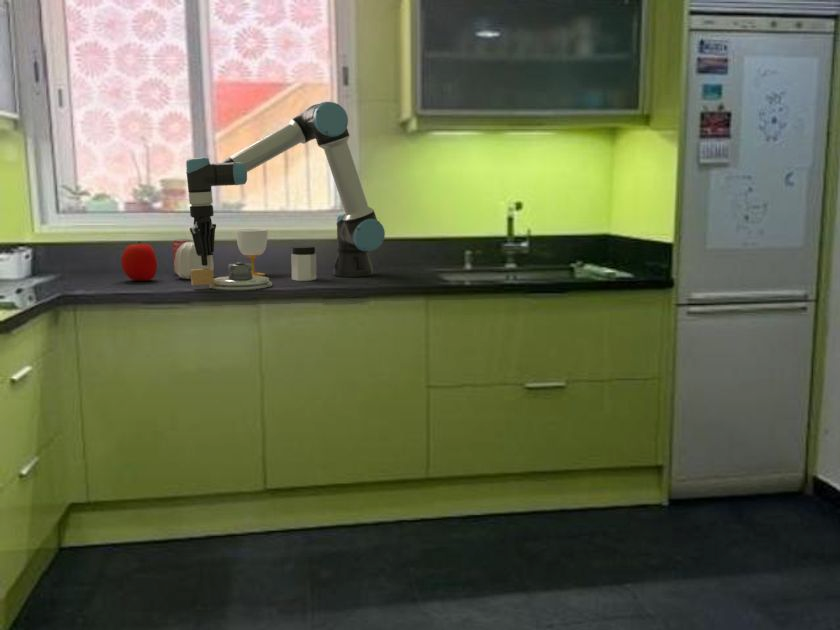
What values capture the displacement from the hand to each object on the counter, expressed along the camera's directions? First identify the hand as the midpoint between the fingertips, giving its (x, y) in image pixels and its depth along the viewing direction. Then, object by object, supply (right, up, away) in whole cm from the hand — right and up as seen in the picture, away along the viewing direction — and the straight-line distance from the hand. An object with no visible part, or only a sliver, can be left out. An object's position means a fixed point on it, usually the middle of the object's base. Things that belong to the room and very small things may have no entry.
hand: (207, 274), depth 279 cm
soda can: (-18, +2, +37) cm, 41 cm away
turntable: (+8, -3, +1) cm, 8 cm away
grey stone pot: (+11, -1, +3) cm, 11 cm away
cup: (+9, +1, +34) cm, 35 cm away
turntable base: (+11, -4, +3) cm, 12 cm away
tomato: (-28, -2, +16) cm, 32 cm away
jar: (+30, -1, +21) cm, 37 cm away
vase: (-11, 0, +24) cm, 26 cm away
